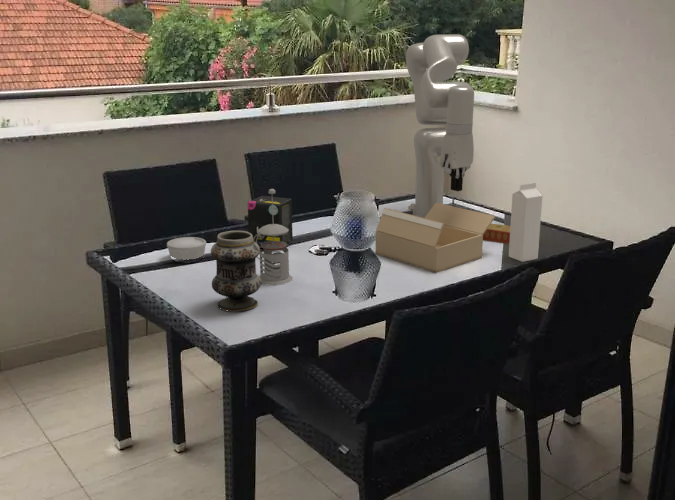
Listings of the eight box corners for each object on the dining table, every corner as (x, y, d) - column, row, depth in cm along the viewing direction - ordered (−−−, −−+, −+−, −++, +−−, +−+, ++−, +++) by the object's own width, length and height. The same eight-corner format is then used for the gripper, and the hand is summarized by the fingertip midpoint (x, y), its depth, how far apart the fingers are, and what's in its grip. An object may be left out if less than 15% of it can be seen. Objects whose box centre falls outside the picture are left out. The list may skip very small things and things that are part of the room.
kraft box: (375, 253, 226) (375, 231, 224) (421, 240, 238) (421, 219, 236) (435, 272, 208) (436, 248, 206) (481, 257, 221) (483, 234, 219)
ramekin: (214, 258, 223) (213, 241, 221) (183, 267, 215) (182, 250, 213) (191, 251, 230) (190, 234, 229) (160, 259, 222) (159, 242, 221)
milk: (537, 259, 220) (544, 184, 213) (522, 262, 217) (527, 187, 210) (523, 253, 225) (528, 180, 218) (507, 256, 222) (512, 182, 215)
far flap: (435, 202, 238) (436, 203, 238) (423, 219, 236) (424, 220, 236) (494, 215, 221) (495, 217, 222) (482, 233, 219) (483, 235, 220)
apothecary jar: (271, 306, 185) (268, 236, 180) (227, 317, 179) (223, 244, 173) (247, 292, 195) (244, 225, 189) (204, 302, 188) (200, 233, 183)
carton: (490, 235, 245) (491, 222, 244) (539, 242, 237) (540, 228, 236) (481, 241, 238) (482, 228, 237) (532, 248, 230) (533, 235, 229)
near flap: (444, 223, 207) (443, 222, 207) (435, 247, 207) (434, 246, 206) (385, 208, 224) (384, 207, 223) (377, 230, 223) (375, 229, 223)
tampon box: (248, 248, 232) (246, 201, 228) (262, 240, 241) (260, 195, 236) (280, 251, 228) (278, 204, 224) (293, 243, 237) (292, 197, 232)
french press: (278, 287, 198) (275, 194, 191) (244, 280, 204) (239, 189, 197) (300, 276, 206) (298, 187, 199) (266, 270, 212) (262, 182, 205)
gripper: (465, 124, 227) (462, 183, 234) (432, 130, 218) (430, 192, 224) (485, 127, 222) (482, 188, 228) (452, 134, 213) (449, 197, 219)
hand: (456, 190), depth 226 cm, fingers closed
